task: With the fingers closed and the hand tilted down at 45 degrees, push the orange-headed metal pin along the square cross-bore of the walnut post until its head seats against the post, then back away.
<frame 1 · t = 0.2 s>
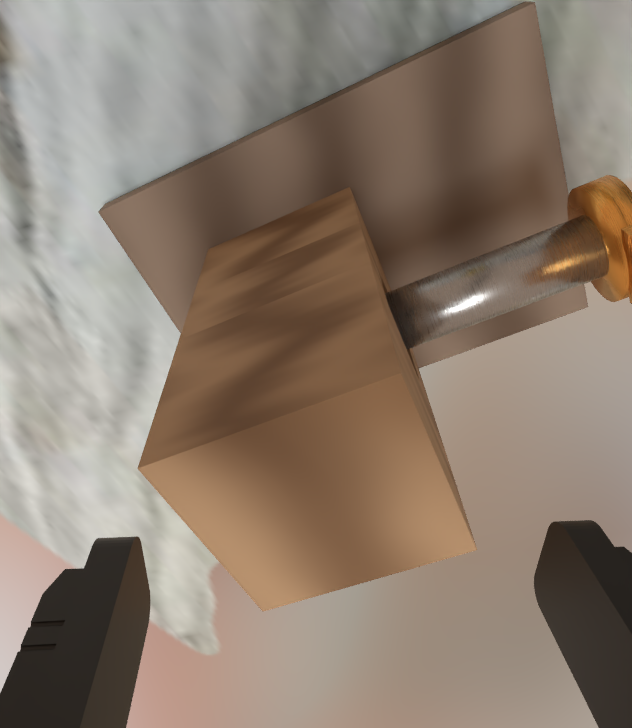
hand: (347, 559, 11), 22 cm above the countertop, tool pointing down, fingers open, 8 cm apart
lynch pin: (476, 303, 23), point 9 cm above the countertop, slide at 8.0 cm
hitch post: (308, 274, 31), on the countertop
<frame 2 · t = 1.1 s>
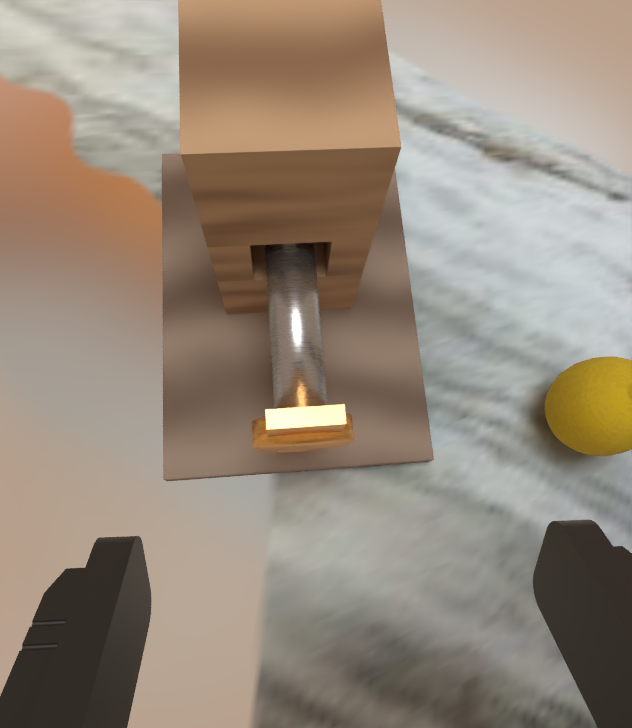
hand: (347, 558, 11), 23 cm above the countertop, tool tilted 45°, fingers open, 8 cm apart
lemon: (564, 419, 36), on the countertop
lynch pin: (295, 314, 27), point 9 cm above the countertop, slide at 8.0 cm
hitch post: (286, 262, 38), on the countertop
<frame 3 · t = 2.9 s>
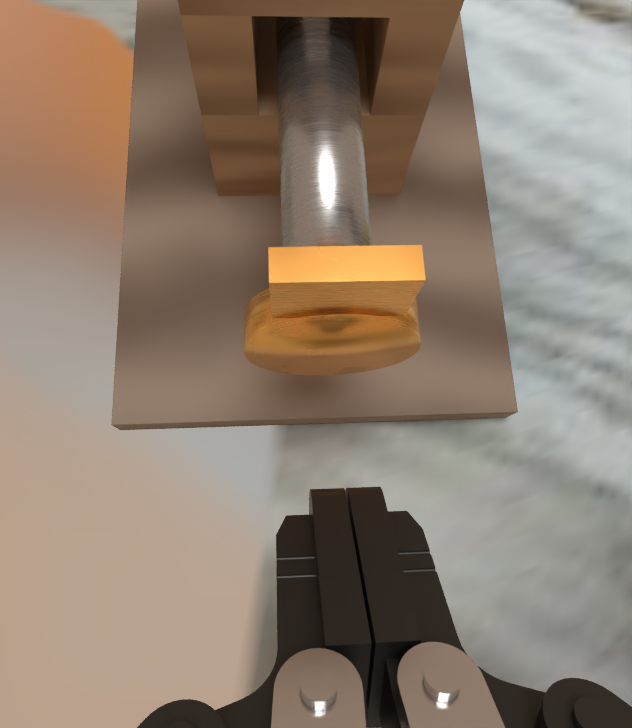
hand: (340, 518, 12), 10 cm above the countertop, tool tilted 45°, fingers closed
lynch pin: (324, 138, 16), point 9 cm above the countertop, slide at 8.0 cm
hitch post: (305, 137, 27), on the countertop
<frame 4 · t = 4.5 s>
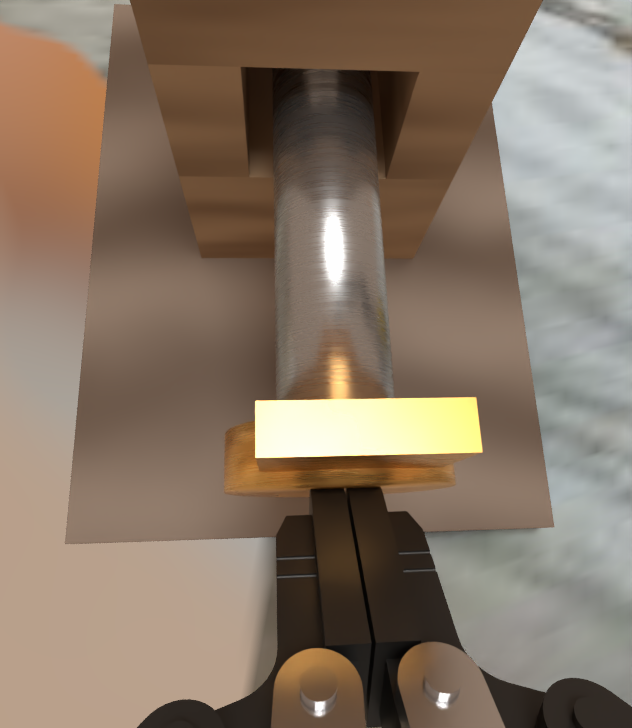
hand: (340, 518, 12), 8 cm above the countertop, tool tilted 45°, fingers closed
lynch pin: (331, 206, 13), point 9 cm above the countertop, slide at 7.5 cm, touching gripper
hitch post: (304, 185, 23), on the countertop
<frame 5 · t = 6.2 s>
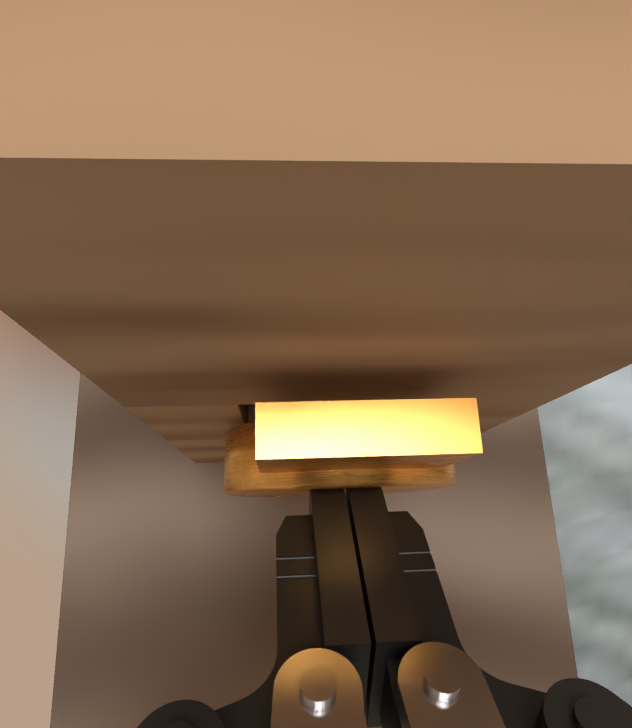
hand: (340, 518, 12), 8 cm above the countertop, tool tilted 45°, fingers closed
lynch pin: (330, 205, 13), point 9 cm above the countertop, slide at 0.0 cm, touching gripper
hitch post: (309, 357, 21), on the countertop
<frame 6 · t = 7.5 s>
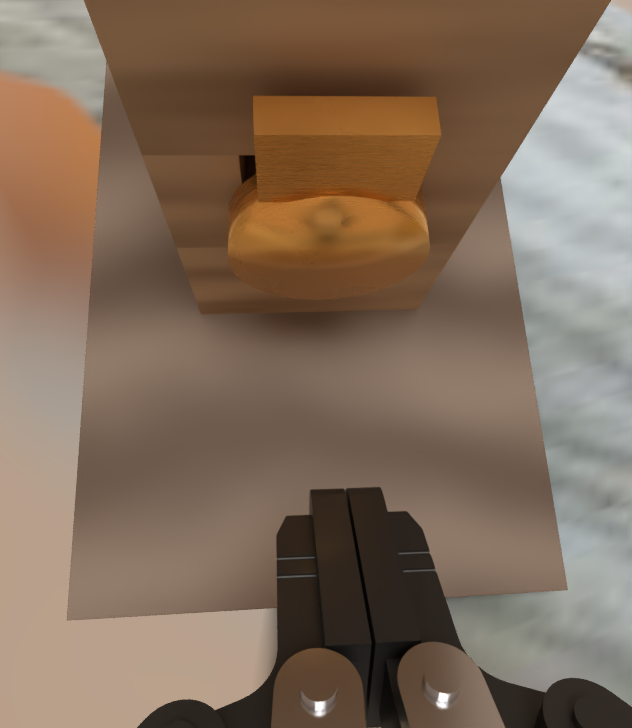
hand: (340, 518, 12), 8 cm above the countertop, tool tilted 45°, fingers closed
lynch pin: (318, 23, 14), point 9 cm above the countertop, slide at 0.0 cm
hitch post: (304, 231, 23), on the countertop
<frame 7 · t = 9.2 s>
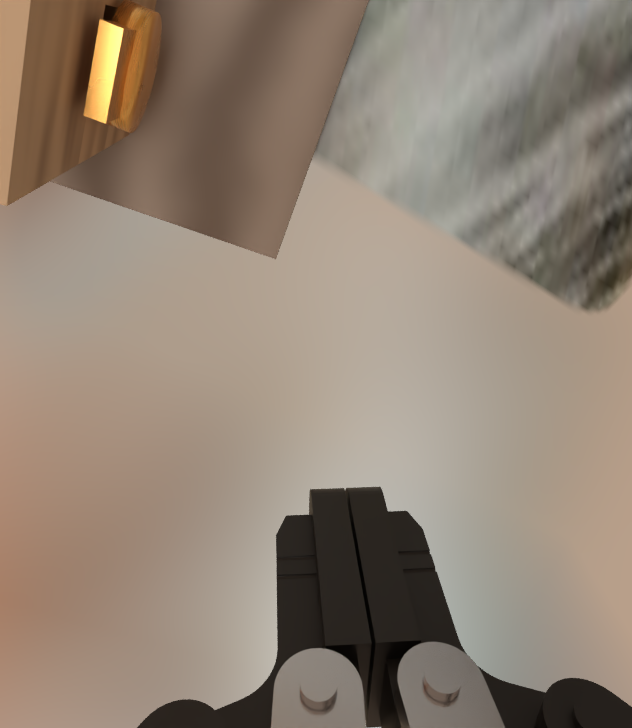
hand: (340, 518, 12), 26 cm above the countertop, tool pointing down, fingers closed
hitch post: (73, 27, 29), on the countertop
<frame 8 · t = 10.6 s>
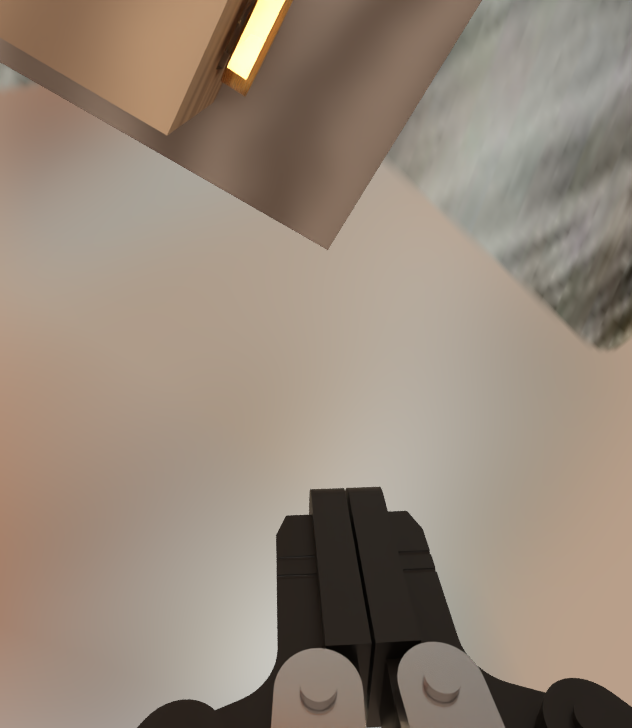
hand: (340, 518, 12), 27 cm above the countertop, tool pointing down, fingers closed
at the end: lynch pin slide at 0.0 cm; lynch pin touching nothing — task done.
